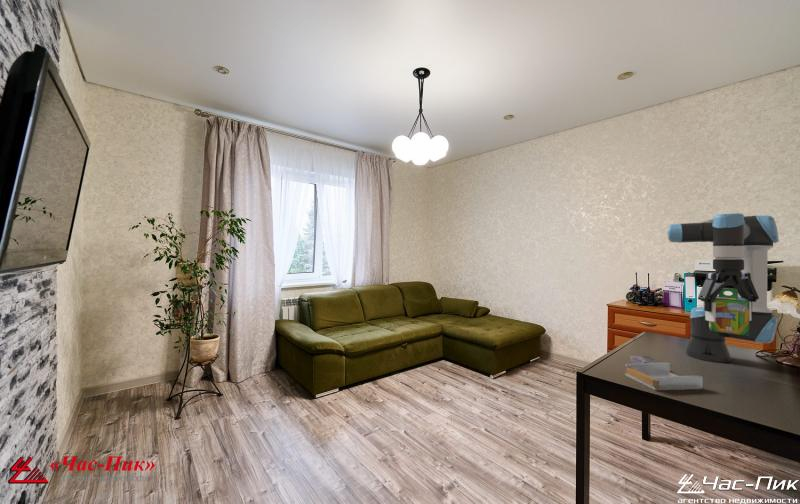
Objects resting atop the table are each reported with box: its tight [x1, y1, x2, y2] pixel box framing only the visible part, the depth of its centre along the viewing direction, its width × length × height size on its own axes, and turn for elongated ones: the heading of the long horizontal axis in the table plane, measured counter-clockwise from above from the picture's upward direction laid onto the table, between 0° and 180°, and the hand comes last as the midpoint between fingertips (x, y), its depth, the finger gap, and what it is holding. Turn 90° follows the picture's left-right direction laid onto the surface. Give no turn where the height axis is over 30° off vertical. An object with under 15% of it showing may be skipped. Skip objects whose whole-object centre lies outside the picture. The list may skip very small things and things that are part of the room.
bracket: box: [624, 362, 704, 391], centre depth 120 cm, size 18×14×4 cm
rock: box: [629, 354, 664, 364], centre depth 134 cm, size 8×11×5 cm
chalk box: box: [709, 287, 750, 336], centre depth 109 cm, size 9×9×15 cm
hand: (728, 320), depth 109 cm, fingers closed on chalk box, 12 cm apart
